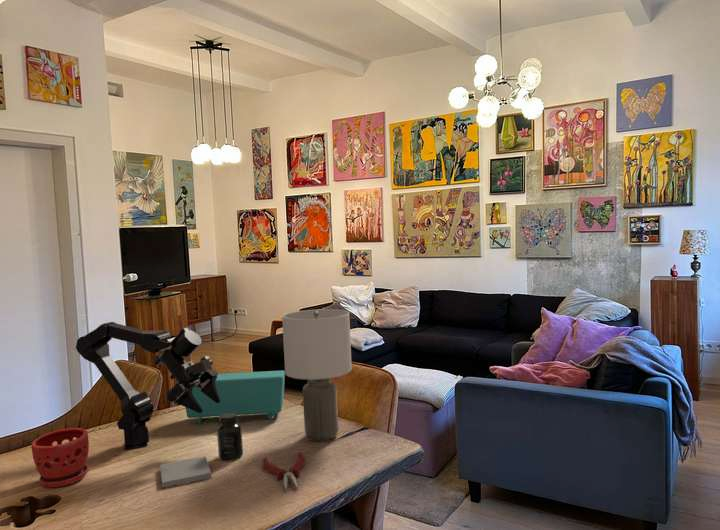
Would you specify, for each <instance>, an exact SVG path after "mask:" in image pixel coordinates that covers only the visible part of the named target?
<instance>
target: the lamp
mask: <svg viewBox="0 0 720 530" xmlns="http://www.w3.org/2000/svg"><path fill="white" fill-rule="evenodd" d="M281 317H282V318H281V319H282V336H283V337H282V339H283V354H284V356H283V357H284V371H285V376H287V377H289V378H292V379H295V380H296V379H297V380H307V383H306V384H304V385H303V388H302V405H303V420H304V423H303V424H304V425H303V426H304V428H303V429H304V435H305V437H306V438H307V439H308V440H309V439H311V440H310V441H312V440H313V442H317V441H319V442H327V440H328V441H331V440H333V439H335V438H336V436H337V435H338V432H339V418H338V417H339V416H338V415H339V414H338V397H337V396H338V395H337V392H338V391H337V390H338V389H337V386H336V384H335V382H332V381H331V379H333V378H338V377H342V376H344V375H347V374H349V373H351V371H352V369H353V368H352V366H353V365H352V346H351V345H352V342H351V326H350V325H351V324H350V311H349V310H346V309H345V310H344V309H334V308H333V309H332V308H331V309H329V308H327V309H325V308H322V309H317V308H316V309H306V310H298V311H292V312H286V313H285V314H282V316H281Z"/></svg>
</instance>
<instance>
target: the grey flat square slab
mask: <svg viewBox="0 0 720 530" xmlns="http://www.w3.org/2000/svg"><path fill="white" fill-rule="evenodd" d="M159 471H160V477H161V487H162V488H163V487H166V488H169V487H168V486H171V487H173V486H172V485H176V486H179V485H178V484H181V485H184V484H183V483H186V484H188V483H187V482H191V483H195V482H194V481H196V482H200V481H199V480H201V481H204V479H205V480H210V479H212V472H211V468H210V466H209V463H208V459H207V457H206V456H201V457H200V456H199V457H195V458H190V459H183V460H180V461H173V462H169V463H163V464H159ZM209 478H210V479H209Z"/></svg>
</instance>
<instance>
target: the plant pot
mask: <svg viewBox="0 0 720 530" xmlns="http://www.w3.org/2000/svg"><path fill="white" fill-rule="evenodd" d="M74 438H75V439H74ZM66 440H67V441H68V442H65V443H63V442H64V441H66ZM55 442H57V444H55V445H53V443H55ZM89 447H90V441H89V433H88V431H87V429H85V428H81V427H70V428H63V429H57V430H54V431H51V432H48V433H45V434H42V435H41V436H39V437H37V438H35V439H34V440H33V441H32V442H31V453H32V459H33V462H34V465H35V468H36V470H37V472H38V473H39V474H40V477H39V482H40V483H41V485H42V486H45V487H49V488H57V487H58V488H59V486H60V487H63V486H64V485H65V486H69V485H68V484H70V485H72V484H74V483H76V482H78V481H79V480H82V479H83V478H85V476H86V475H87V474H88V473H89V470H90V468H89V465H88V464H87V461H88V458H89V452H90V451H89V450H90V448H89ZM71 483H72V484H71Z"/></svg>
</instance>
